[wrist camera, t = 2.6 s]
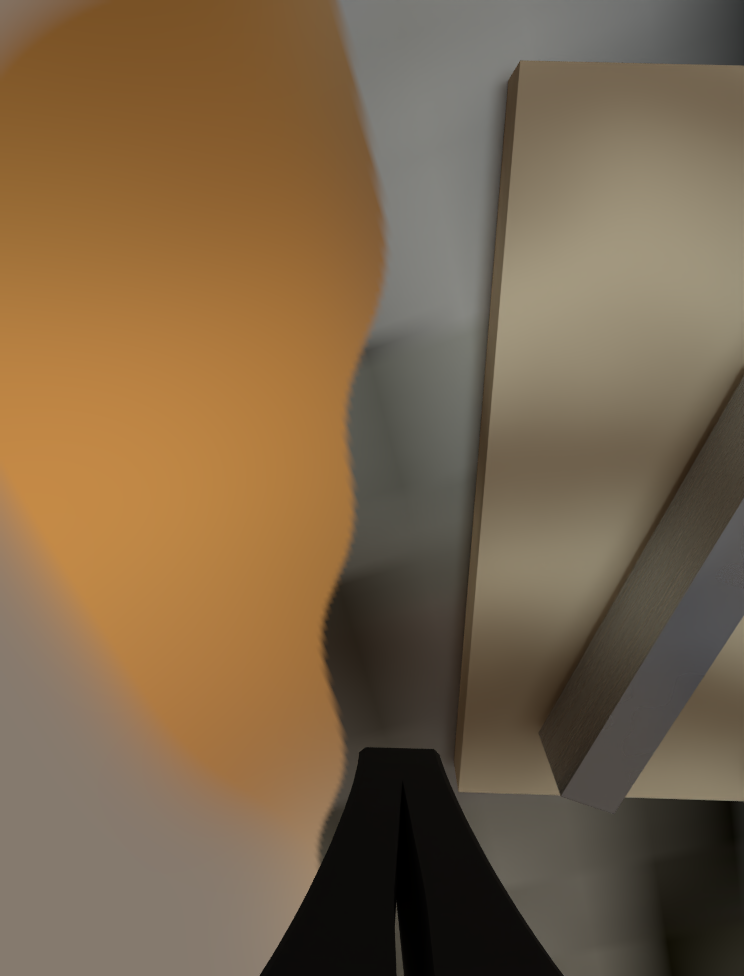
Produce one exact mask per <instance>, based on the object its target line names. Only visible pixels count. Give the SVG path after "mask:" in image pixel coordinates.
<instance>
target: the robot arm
mask: <svg viewBox="0 0 744 976" xmlns="http://www.w3.org/2000/svg"><path fill="white" fill-rule="evenodd" d="M396 901H397V911H398V921H399V931H400V940H401V950H402V960H403V969H404V976H564V975H563V974H562V973H561V971H560V970H559V969H558V967H557V966H556V965H555V963H554V962H553V961H552V959H551V958H550V956H549V955H548V953H547V952H546V951H545V949H544V948H543V946H542V945H541V944H540V942H539V941H538V939H537V938H536V936H535V935H534V933H533V932H532V930H531V929H530V927H529V926H528V924H527V923H526V921H525V920H524V918H523V917H522V915H521V914H520V912H519V911H518V909H517V908H516V906H515V904H514V903H513V901H512V900H511V898H510V896H509V895H508V893H507V891H506V890H505V888H504V886H503V885H502V883H501V881H500V880H499V878H498V877H497V875H496V873H495V871H494V870H493V868H492V866H491V864H490V863H489V861H488V859H487V857H486V855H485V854H484V852H483V850H482V848H481V846H480V844H479V842H478V841H477V839H476V837H475V835H474V833H473V831H472V829H471V827H470V825H469V823H468V821H467V819H466V817H465V815H464V813H463V811H462V809H461V807H460V805H459V803H458V801H457V798H456V796H455V794H454V792H453V790H452V787H451V785H450V783H449V780H448V778H447V775H446V773H445V770H444V767H443V764H442V761H441V758H440V755H439V754H438V753H437V752H436V751H435V750H434V749H408V748H373V747H366V748H364V749H363V750H362V751H361V752H359V759H358V766H357V770H356V774H355V778H354V782H353V785H352V788H351V792H350V794H349V797H348V800H347V803H346V806H345V809H344V812H343V814H342V817H341V819H340V822H339V824H338V827H337V829H336V832H335V834H334V837H333V839H332V842H331V844H330V846H329V849H328V851H327V853H326V855H325V857H324V859H323V861H322V863H321V866H320V868H319V870H318V872H317V874H316V876H315V878H314V880H313V882H312V885H311V886H310V888H309V891H308V893H307V894H306V896H305V898H304V900H303V902H302V904H301V906H300V908H299V910H298V912H297V913H296V915H295V917H294V919H293V921H292V922H291V924H290V926H289V928H288V930H287V931H286V933H285V935H284V936H283V938H282V940H281V942H280V943H279V945H278V947H277V948H276V950H275V952H274V953H273V955H272V957H271V959H270V960H269V961H268V963H267V965H266V966H265V968H264V969H263V971H262V973H261V974H260V976H396V950H395V913H396Z"/></svg>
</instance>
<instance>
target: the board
mask: <svg viewBox="0 0 744 976" xmlns="http://www.w3.org/2000/svg"><path fill="white" fill-rule="evenodd" d="M743 376H744V66H732V65H689V64H646V63H603V62H560V61H520V62H519V64H518V65H517V67H516V69H515V70H514V72H513V74H512V75H511V77H510V79H509V80H508V92H507V104H506V117H505V129H504V142H503V154H502V167H501V179H500V192H499V204H498V217H497V229H496V242H495V254H494V267H493V279H492V292H491V304H490V317H489V329H488V342H487V354H486V367H485V379H484V392H483V404H482V417H481V429H480V442H479V454H478V467H477V479H476V492H475V504H474V516H473V529H472V541H471V554H470V566H469V579H468V591H467V604H466V616H465V629H464V641H463V654H462V666H461V679H460V691H459V704H458V716H457V729H456V741H455V754H454V766H455V772H456V779H457V785H458V792H474V793H505V794H537V795H560V793H559V790H558V787H557V784H556V781H555V778H554V776H553V773H552V770H551V767H550V764H549V761H548V759H547V756H546V753H545V750H544V747H543V744H542V742H541V739H540V736H539V733H538V732H539V731H540V729H541V727H542V725H543V724H544V722H545V720H546V719H547V717H548V715H549V713H550V712H551V710H552V708H553V706H554V705H555V703H556V701H557V699H558V698H559V696H560V694H561V692H562V691H563V689H564V687H565V686H566V684H567V682H568V680H569V679H570V677H571V675H572V673H573V672H574V670H575V668H576V666H577V665H578V663H579V661H580V659H581V658H582V656H583V654H584V653H585V651H586V649H587V647H588V646H589V644H590V642H591V640H592V639H593V637H594V635H595V633H596V632H597V630H598V628H599V626H600V625H601V623H602V621H603V620H604V618H605V616H606V614H607V613H608V611H609V609H610V607H611V606H612V604H613V602H614V600H615V599H616V597H617V595H618V593H619V592H620V590H621V588H622V587H623V585H624V583H625V581H626V580H627V578H628V576H629V574H630V573H631V571H632V569H633V567H634V566H635V564H636V562H637V560H638V559H639V557H640V555H641V554H642V552H643V550H644V548H645V547H646V545H647V543H648V541H649V540H650V538H651V536H652V534H653V533H654V531H655V529H656V527H657V526H658V524H659V522H660V521H661V519H662V517H663V515H664V514H665V512H666V510H667V508H668V507H669V505H670V503H671V501H672V500H673V498H674V496H675V494H676V493H677V491H678V489H679V488H680V486H681V484H682V482H683V481H684V479H685V477H686V475H687V474H688V472H689V470H690V468H691V467H692V465H693V463H694V461H695V460H696V458H697V456H698V455H699V453H700V451H701V449H702V448H703V446H704V444H705V442H706V441H707V439H708V437H709V435H710V434H711V432H712V430H713V428H714V427H715V425H716V423H717V422H718V420H719V418H720V416H721V415H722V413H723V411H724V409H725V408H726V406H727V404H728V402H729V401H730V399H731V397H732V395H733V394H734V392H735V390H736V389H737V387H738V385H739V383H740V382H741V380H742V378H743ZM625 797H630V798H662V799H693V800H724V801H744V616H743V618H742V619H741V621H740V622H739V624H738V625H737V627H736V628H735V630H734V631H733V633H732V634H731V636H730V638H729V639H728V641H727V642H726V644H725V645H724V647H723V648H722V650H721V651H720V653H719V654H718V656H717V657H716V659H715V660H714V662H713V664H712V665H711V667H710V668H709V670H708V671H707V673H706V674H705V676H704V677H703V679H702V680H701V682H700V683H699V685H698V686H697V688H696V690H695V691H694V693H693V694H692V696H691V697H690V699H689V700H688V702H687V703H686V705H685V706H684V708H683V709H682V711H681V712H680V714H679V715H678V717H677V719H676V720H675V722H674V723H673V725H672V726H671V728H670V729H669V731H668V732H667V734H666V735H665V737H664V738H663V740H662V741H661V743H660V745H659V746H658V748H657V749H656V751H655V752H654V754H653V755H652V757H651V758H650V760H649V761H648V763H647V764H646V766H645V767H644V769H643V770H642V772H641V774H640V775H639V777H638V778H637V780H636V781H635V783H634V784H633V786H632V787H631V789H630V790H629V792H628V793H627V795H626V796H625Z"/></svg>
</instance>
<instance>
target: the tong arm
mask: <svg viewBox="0 0 744 976" xmlns="http://www.w3.org/2000/svg"><path fill="white" fill-rule="evenodd" d="M743 616H744V376H743V378H742V380H741V382H740V383H739V385H738V387H737V389H736V390H735V392H734V394H733V395H732V397H731V399H730V401H729V402H728V404H727V406H726V408H725V409H724V411H723V413H722V415H721V416H720V418H719V420H718V422H717V423H716V425H715V427H714V428H713V430H712V432H711V434H710V435H709V437H708V439H707V441H706V442H705V444H704V446H703V448H702V449H701V451H700V453H699V455H698V456H697V458H696V460H695V461H694V463H693V465H692V467H691V468H690V470H689V472H688V474H687V475H686V477H685V479H684V481H683V482H682V484H681V486H680V488H679V489H678V491H677V493H676V494H675V496H674V498H673V500H672V501H671V503H670V505H669V507H668V508H667V510H666V512H665V514H664V515H663V517H662V519H661V521H660V522H659V524H658V526H657V527H656V529H655V531H654V533H653V534H652V536H651V538H650V540H649V541H648V543H647V545H646V547H645V548H644V550H643V552H642V554H641V555H640V557H639V559H638V560H637V562H636V564H635V566H634V567H633V569H632V571H631V573H630V574H629V576H628V578H627V580H626V581H625V583H624V585H623V587H622V588H621V590H620V592H619V593H618V595H617V597H616V599H615V600H614V602H613V604H612V606H611V607H610V609H609V611H608V613H607V614H606V616H605V618H604V620H603V621H602V623H601V625H600V626H599V628H598V630H597V632H596V633H595V635H594V637H593V639H592V640H591V642H590V644H589V646H588V647H587V649H586V651H585V653H584V654H583V656H582V658H581V659H580V661H579V663H578V665H577V666H576V668H575V670H574V672H573V673H572V675H571V677H570V679H569V680H568V682H567V684H566V686H565V687H564V689H563V691H562V692H561V694H560V696H559V698H558V699H557V701H556V703H555V705H554V706H553V708H552V710H551V712H550V713H549V715H548V717H547V719H546V720H545V722H544V724H543V725H542V727H541V729H540V731H539V732H538V733H539V736H540V739H541V742H542V744H543V747H544V750H545V753H546V756H547V759H548V761H549V764H550V767H551V770H552V773H553V776H554V778H555V781H556V784H557V787H558V790H559V793H560V795H561V797H564V798H567V799H570V800H573V801H576V802H579V803H582V804H585V805H588V806H591V807H594V808H597V809H600V810H603V811H606V812H609V813H612V814H614V813H615V812H616V810H617V809H618V807H619V806H620V804H621V803H622V801H623V800H624V798H625V796H626V795H627V793H628V792H629V790H630V789H631V787H632V786H633V784H634V783H635V781H636V780H637V778H638V777H639V775H640V774H641V772H642V770H643V769H644V767H645V766H646V764H647V763H648V761H649V760H650V758H651V757H652V755H653V754H654V752H655V751H656V749H657V748H658V746H659V745H660V743H661V741H662V740H663V738H664V737H665V735H666V734H667V732H668V731H669V729H670V728H671V726H672V725H673V723H674V722H675V720H676V719H677V717H678V715H679V714H680V712H681V711H682V709H683V708H684V706H685V705H686V703H687V702H688V700H689V699H690V697H691V696H692V694H693V693H694V691H695V690H696V688H697V686H698V685H699V683H700V682H701V680H702V679H703V677H704V676H705V674H706V673H707V671H708V670H709V668H710V667H711V665H712V664H713V662H714V660H715V659H716V657H717V656H718V654H719V653H720V651H721V650H722V648H723V647H724V645H725V644H726V642H727V641H728V639H729V638H730V636H731V634H732V633H733V631H734V630H735V628H736V627H737V625H738V624H739V622H740V621H741V619H742V618H743Z"/></svg>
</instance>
